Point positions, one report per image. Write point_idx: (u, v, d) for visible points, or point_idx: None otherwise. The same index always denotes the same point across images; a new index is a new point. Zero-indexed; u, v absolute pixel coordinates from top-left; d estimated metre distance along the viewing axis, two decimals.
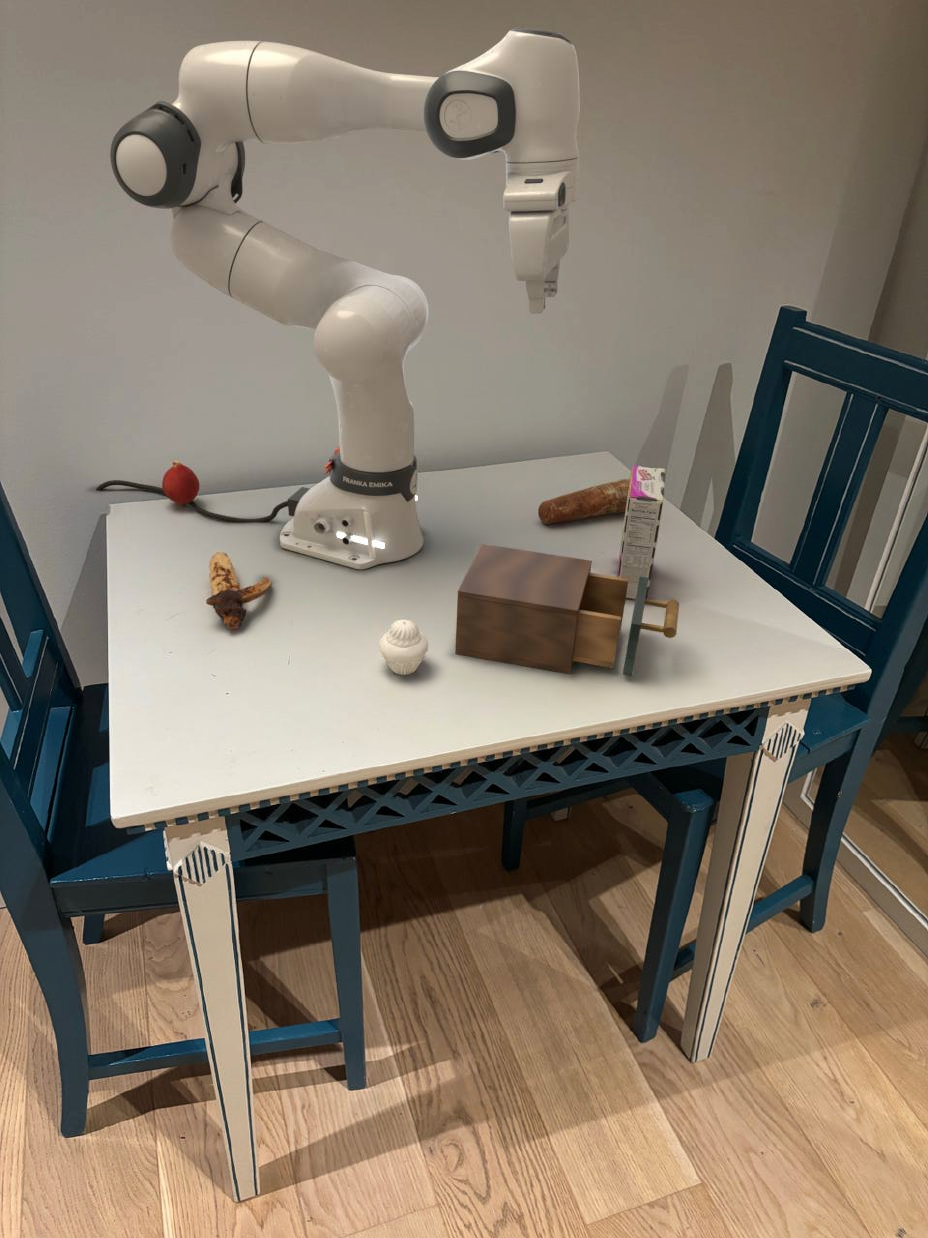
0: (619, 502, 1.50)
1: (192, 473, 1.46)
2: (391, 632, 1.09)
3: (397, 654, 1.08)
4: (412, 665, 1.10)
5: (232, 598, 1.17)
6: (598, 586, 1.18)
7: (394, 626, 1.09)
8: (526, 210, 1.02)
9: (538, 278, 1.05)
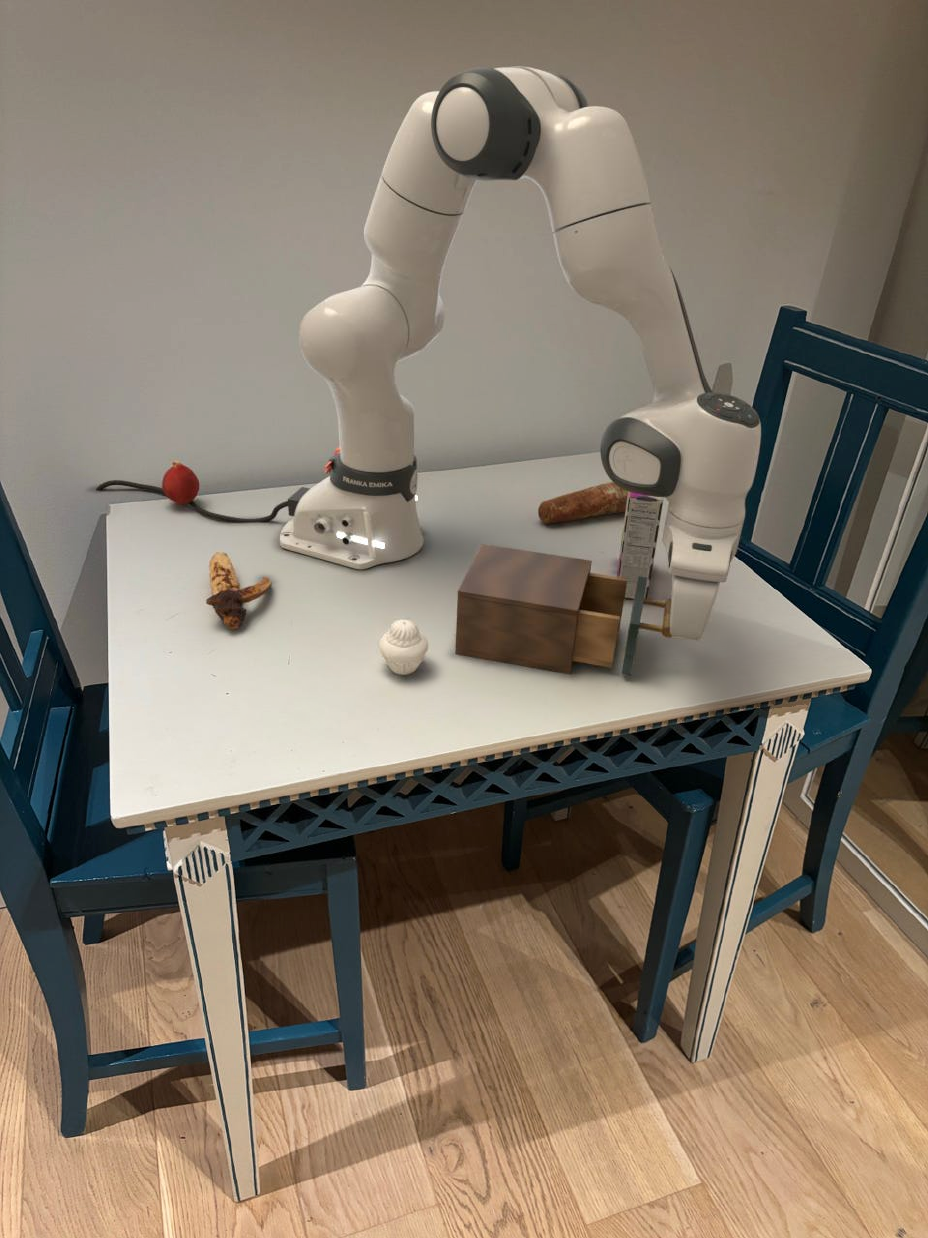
0: (619, 502, 1.50)
1: (192, 473, 1.46)
2: (391, 632, 1.09)
3: (397, 654, 1.08)
4: (412, 665, 1.10)
5: (232, 598, 1.17)
6: (597, 586, 1.18)
7: (394, 626, 1.09)
8: (693, 578, 1.00)
9: (694, 639, 1.03)
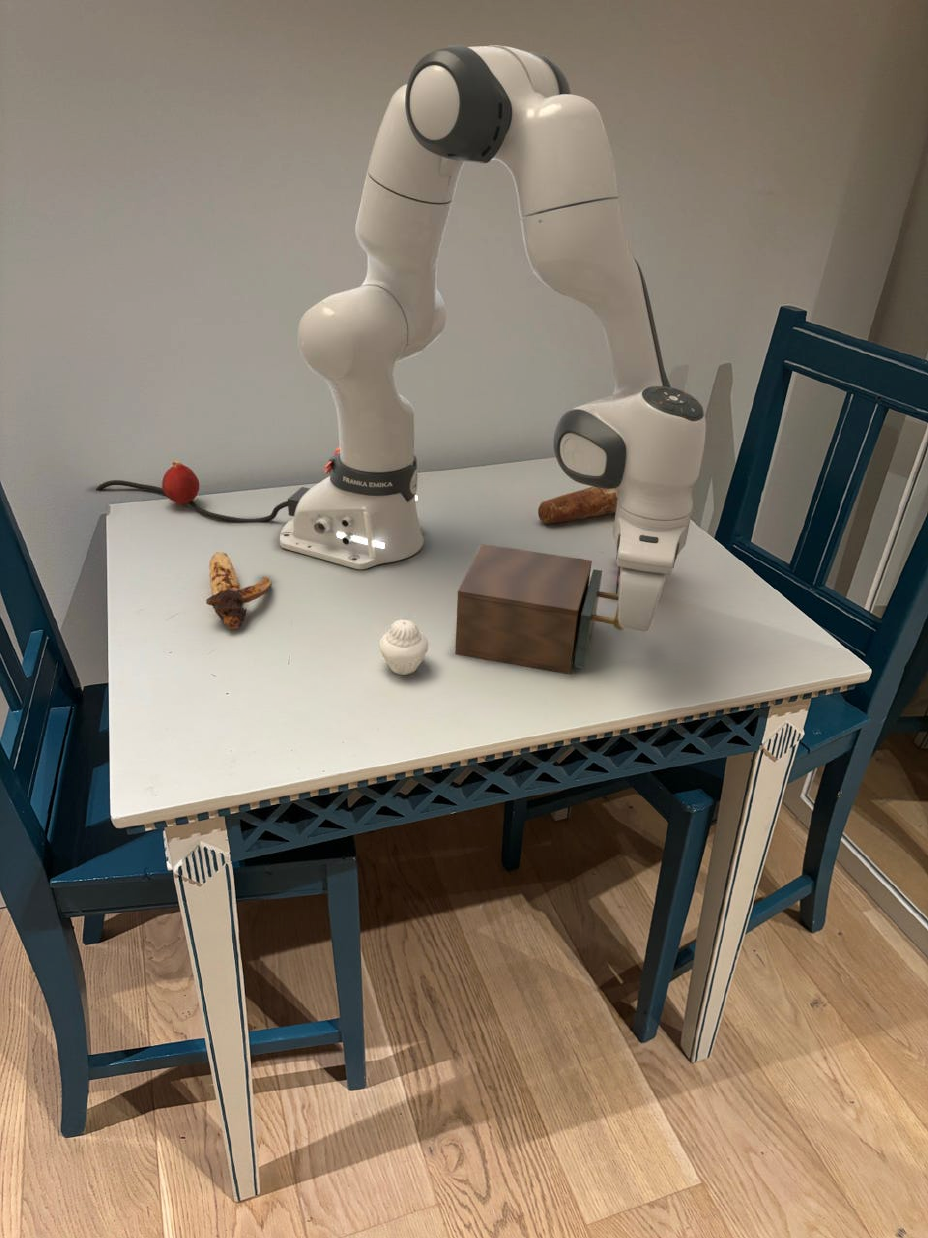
0: None
1: (192, 473, 1.46)
2: (391, 632, 1.09)
3: (397, 654, 1.08)
4: (412, 665, 1.10)
5: (232, 598, 1.17)
6: None
7: (394, 626, 1.09)
8: (639, 570, 1.01)
9: (642, 631, 1.04)
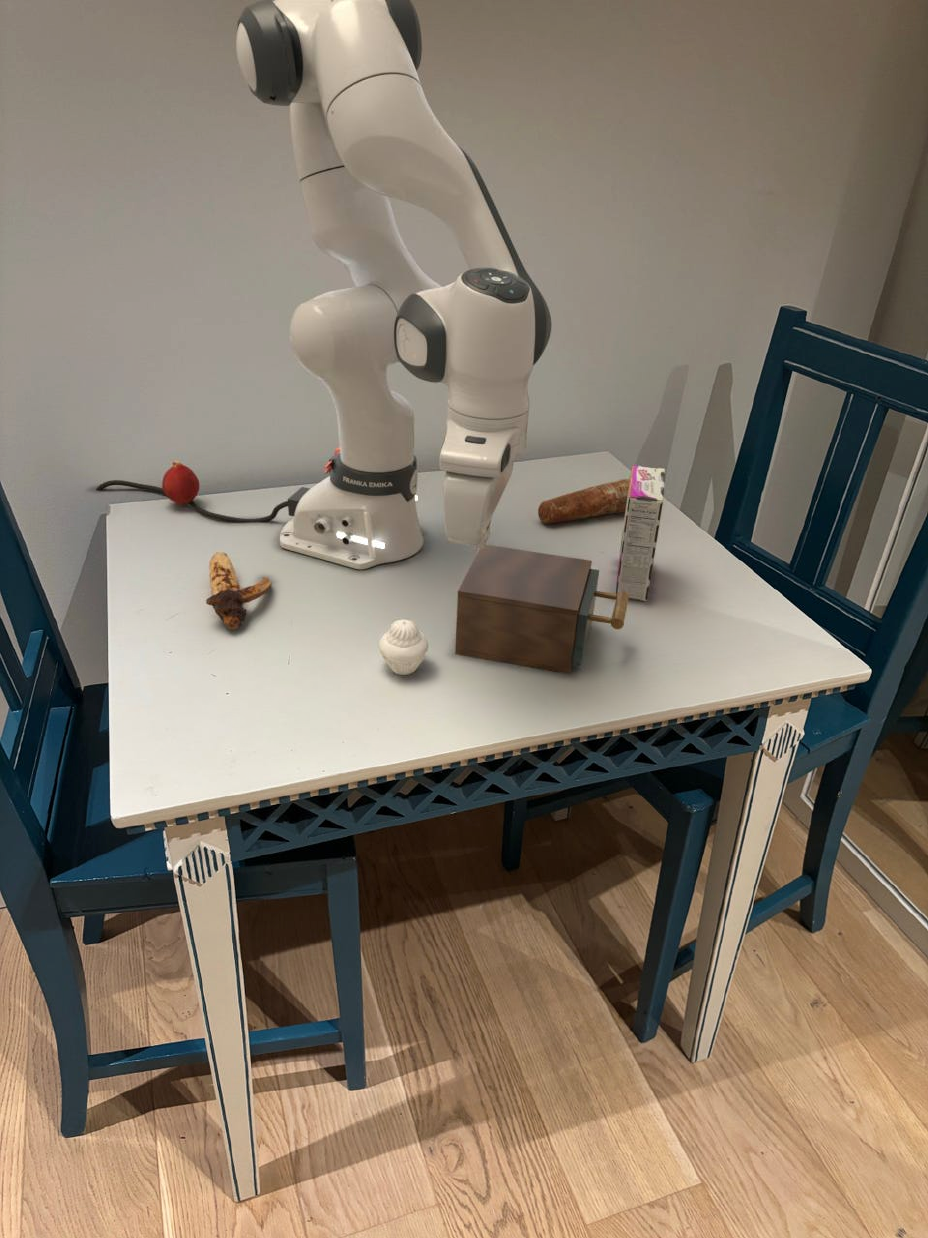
0: (619, 502, 1.50)
1: (192, 473, 1.46)
2: (391, 632, 1.09)
3: (397, 654, 1.08)
4: (412, 665, 1.10)
5: (232, 598, 1.17)
6: None
7: (394, 626, 1.09)
8: (464, 474, 0.91)
9: (472, 544, 0.94)
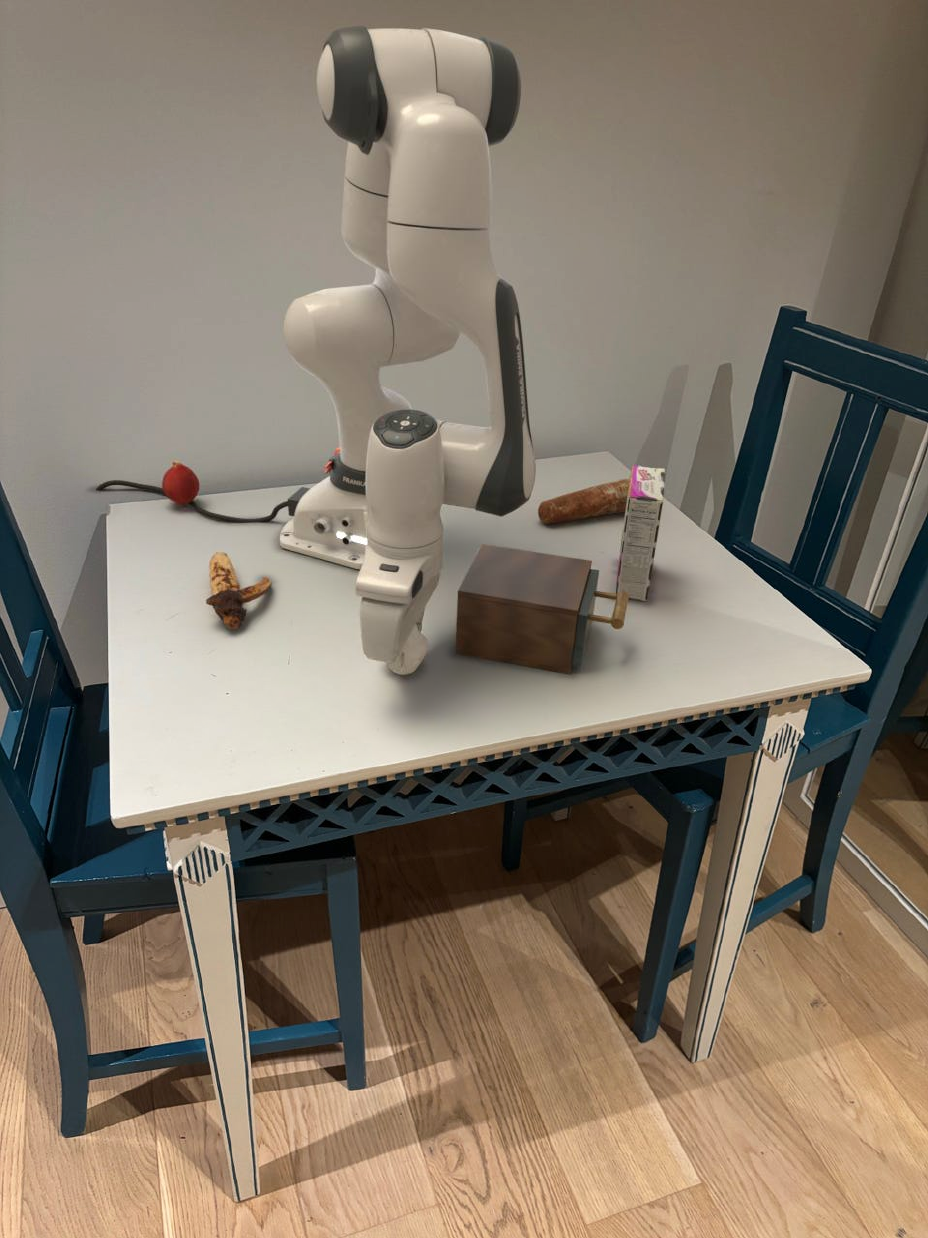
0: (619, 502, 1.50)
1: (192, 473, 1.46)
2: None
3: None
4: (412, 665, 1.10)
5: (232, 598, 1.17)
6: None
7: None
8: (378, 600, 0.98)
9: (388, 662, 1.01)
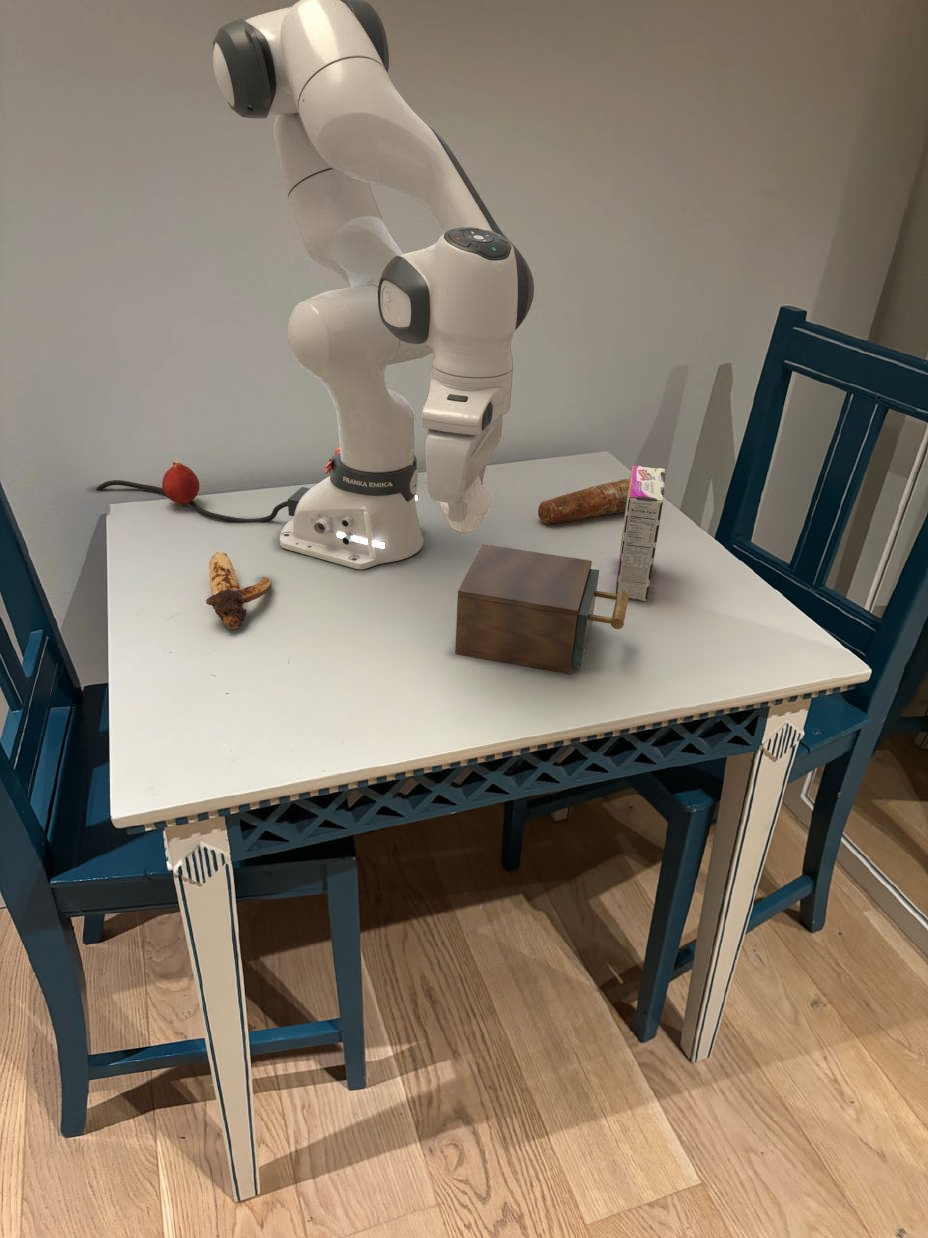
0: (619, 502, 1.50)
1: (192, 473, 1.46)
2: None
3: None
4: (474, 520, 1.04)
5: (232, 598, 1.17)
6: None
7: None
8: (446, 431, 0.92)
9: (454, 502, 0.95)
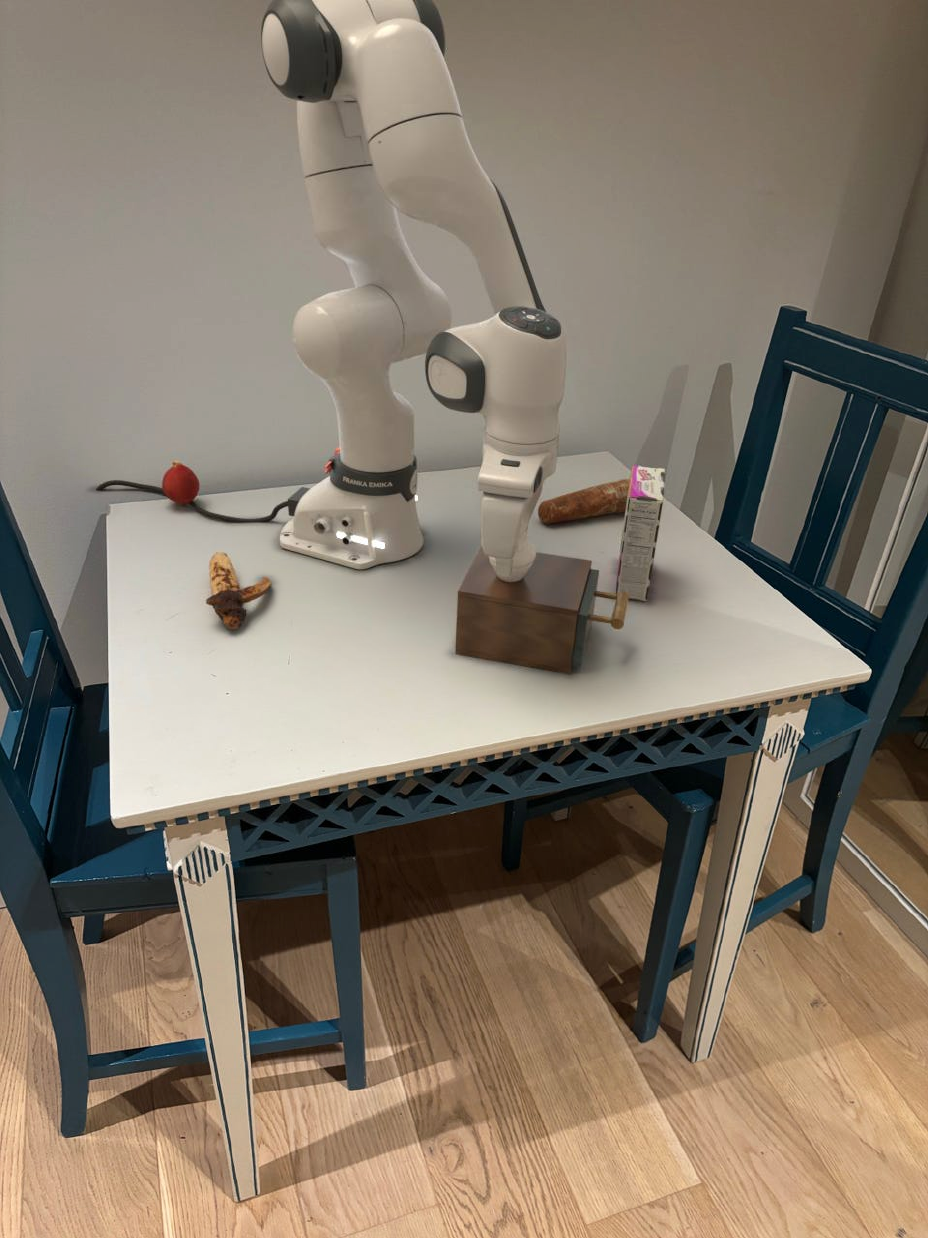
0: (619, 502, 1.50)
1: (192, 473, 1.46)
2: None
3: None
4: (521, 571, 1.12)
5: (232, 598, 1.17)
6: None
7: None
8: (500, 494, 0.99)
9: (507, 558, 1.02)
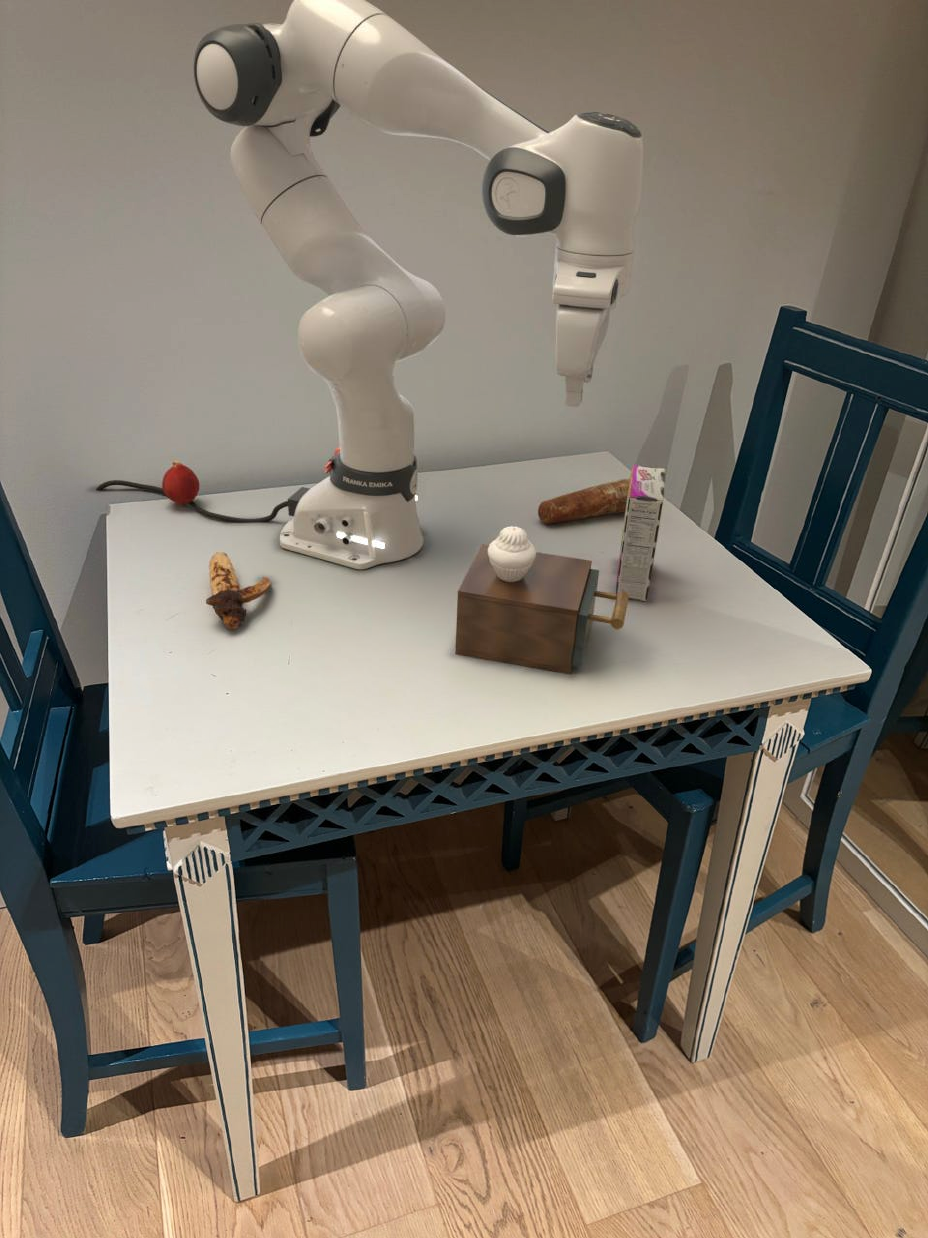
0: (619, 502, 1.50)
1: (192, 473, 1.46)
2: (501, 538, 1.11)
3: (508, 559, 1.10)
4: (521, 571, 1.12)
5: (232, 598, 1.17)
6: None
7: (504, 532, 1.11)
8: (576, 305, 0.97)
9: (581, 376, 1.00)
